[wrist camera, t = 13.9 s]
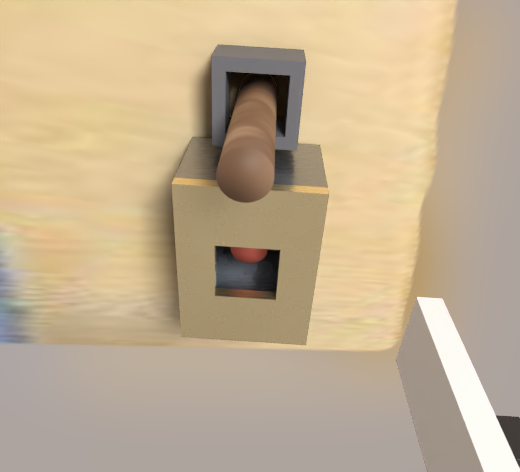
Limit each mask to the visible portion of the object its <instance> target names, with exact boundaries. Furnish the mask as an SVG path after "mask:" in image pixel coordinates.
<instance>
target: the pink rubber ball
mask: <svg viewBox="0 0 520 472" xmlns="http://www.w3.org/2000/svg"><path fill="white" fill-rule="evenodd" d="M230 248H231V252H232V254H233V256H234V257H235V258H236V259H238V260H239V261H241V262H244V263H256V262H258V261H260V260H262V259H263V258H264V257H265V256H266V254H267V252H268V249H257V248H242V247H230Z"/></svg>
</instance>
